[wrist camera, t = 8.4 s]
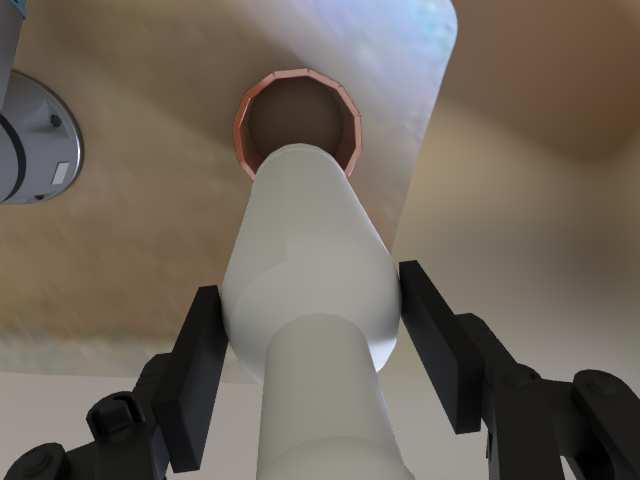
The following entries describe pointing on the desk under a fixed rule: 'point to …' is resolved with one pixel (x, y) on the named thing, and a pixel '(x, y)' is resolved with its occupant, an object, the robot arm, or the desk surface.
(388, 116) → the desk surface
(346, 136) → the reddish brown pot
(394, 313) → the bottle
